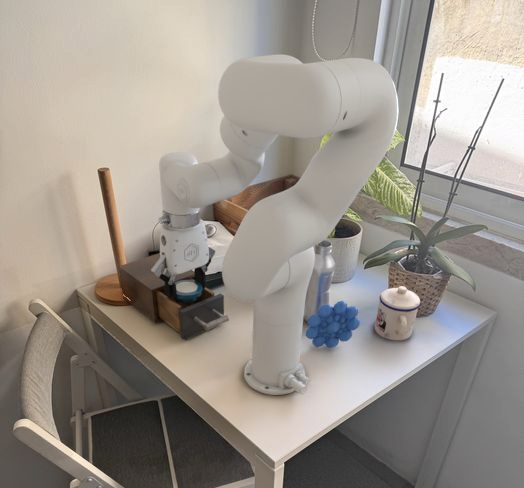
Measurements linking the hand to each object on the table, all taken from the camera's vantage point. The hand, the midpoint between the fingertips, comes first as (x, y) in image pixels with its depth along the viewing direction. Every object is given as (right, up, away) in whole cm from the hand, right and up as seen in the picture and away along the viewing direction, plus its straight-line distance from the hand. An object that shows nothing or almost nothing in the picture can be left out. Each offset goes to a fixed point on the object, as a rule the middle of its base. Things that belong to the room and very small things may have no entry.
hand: (186, 291), depth 116 cm
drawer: (+1, -7, +3) cm, 8 cm away
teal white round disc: (0, -1, +1) cm, 2 cm away
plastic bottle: (+30, -6, +8) cm, 32 cm away
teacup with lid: (+48, -10, +4) cm, 49 cm away
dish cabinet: (-8, -1, +12) cm, 14 cm away
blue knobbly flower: (+32, -12, 0) cm, 35 cm away
